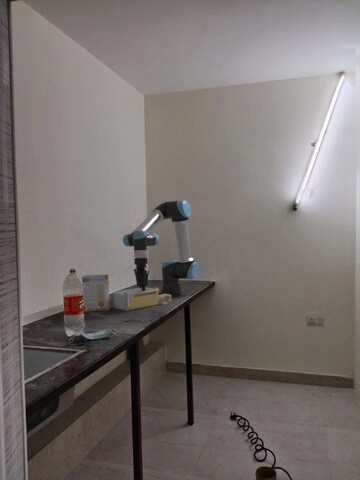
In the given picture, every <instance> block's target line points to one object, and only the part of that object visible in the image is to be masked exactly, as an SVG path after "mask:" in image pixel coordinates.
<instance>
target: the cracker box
mask: <svg viewBox="0 0 360 480" xmlns="http://www.w3.org/2000/svg"><path fill="white" fill-rule="evenodd" d="M81 279H82V280H81V281H82V282H81V283H82V295H83V294H84V302H83V312H84V311H85V312H84V313H93V312H95V311H99V312H100V311H101V312H103V311H106V312H107V311H108V310H110V309H111V301H110V286H109V285H110V283H109V274H90V275H83V276H81Z"/></svg>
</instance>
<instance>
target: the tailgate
mask: <svg viewBox="0 0 360 480" xmlns="http://www.w3.org/2000/svg"><path fill="white" fill-rule="evenodd" d="M154 289H155V288H154ZM159 293H160V289H159V288H158V289H155V290H149V291H143V292H137V293H131V294H130V302H129V311H131V310H132V311H133V310H136V309H137V308H138V309H142V307H143V308H146V307H147V306H148V307H153V306H158V305H157V302H158V295H160V294H159ZM152 305H153V306H152Z"/></svg>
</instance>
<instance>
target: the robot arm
mask: <svg viewBox="0 0 360 480" xmlns="http://www.w3.org/2000/svg"><path fill="white" fill-rule="evenodd" d="M191 216H192V207H191V205H190V204H189V202H188V201H187V200H184V199H182V200H181V199H180V200H172V201H171V200H170V201H165V202H161V203H159V205H157V206H155V208H153V209H152V210H151V211H150V214H149V215H148V216H147V217H146V218H145V219H144V220H143V221H142V222H141V223H140V224H139V225H138V226H137V227H136V228H135V229H134V230H132V232H131V233H127V234H124V236H123V237H122V242H123V245H124V246H126V247H130V248H132V247H133V255H134V256H133V257H134V258H133V260H134V261H133V262H134V263H133V264H134V265H135V268H134V269H133V272H134V275H135V282H136V286H138V288H139V289H140V292H143V291H145V288H147V287H148V284H149V275H150V269H148V268H147V265H148V261H149V259H148V247H154V246H157V245H158V244H159V242H160V236H159V234H157V233H155V232H152V230H153V229H155V227H156V226H157V225H159V223H161V222H163V221H164V220H168V219H169V220H171V222H172V223H173V224H174V229H175V230H174V231H175V237H176V245H177V251H178V259H176V260H175V259H173V260H170V261H169V260H168V261H163V262H162V264H161V273H162V274H161V277H162V285H161V289H160V295H161V294H169V295H171V296H175V295H181V294H182V293H183V289H182V286H181V283H180V280H194V279H196V278H197V277H198V274H199V270H200V266H199V263H198V262H197V261H195V258H194V257H193V256H192V250H191V243H190V240H191V239H190V232H189V228H188V221H189V220H190V218H191ZM150 232H151V233H150Z"/></svg>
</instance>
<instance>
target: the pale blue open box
mask: <svg viewBox="0 0 360 480" xmlns="http://www.w3.org/2000/svg"><path fill="white" fill-rule="evenodd" d="M155 289H159V288H158V287H154V288H150V287H145V291H149V290H155ZM137 292H140V289H139V287H138V288H133V289H132V288H131V289H125V290H120V291H119V290H118V291H113V292H112V302H113V303H112V305H113V308H112V309H118V310H120V311H121V310H122V311H125V312H128V311H130V310H129V302H130V294H131V293H137ZM158 305H160V304H159V302H157V305H156V306H158ZM153 306H154V305H152V306H151V307H153ZM147 307H149V306H147ZM142 308H144V307H142ZM142 308H141V309H142ZM137 309H139V308H137Z"/></svg>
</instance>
